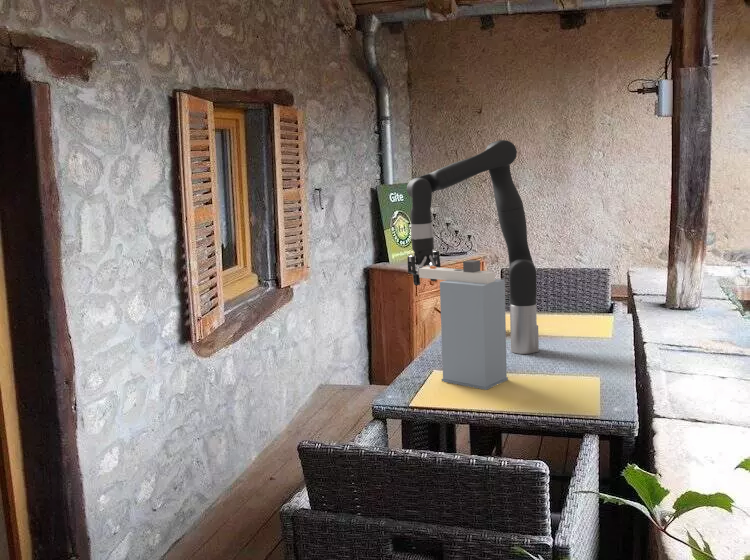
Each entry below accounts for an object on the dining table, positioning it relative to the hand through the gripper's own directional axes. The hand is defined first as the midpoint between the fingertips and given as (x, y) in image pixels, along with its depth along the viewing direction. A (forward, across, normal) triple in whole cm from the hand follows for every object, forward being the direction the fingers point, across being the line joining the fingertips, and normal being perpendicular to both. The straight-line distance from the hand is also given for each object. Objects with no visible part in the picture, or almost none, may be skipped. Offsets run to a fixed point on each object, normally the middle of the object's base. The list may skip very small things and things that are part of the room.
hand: (425, 283), depth 267 cm
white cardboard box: (-4, +11, +23) cm, 26 cm away
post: (+28, +11, +28) cm, 41 cm away
